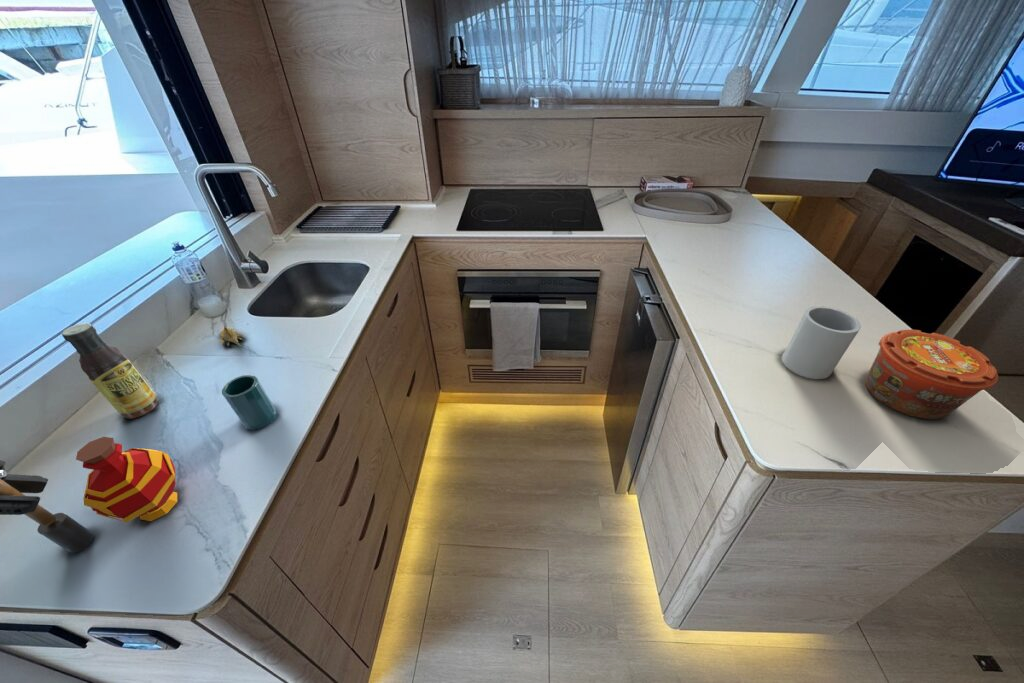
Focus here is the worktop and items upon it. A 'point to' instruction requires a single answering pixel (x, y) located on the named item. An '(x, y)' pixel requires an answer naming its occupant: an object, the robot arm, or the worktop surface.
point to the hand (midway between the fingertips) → (40, 494)
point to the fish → (229, 336)
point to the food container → (927, 374)
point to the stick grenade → (55, 525)
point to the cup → (820, 342)
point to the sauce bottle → (111, 372)
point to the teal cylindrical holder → (249, 402)
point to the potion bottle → (127, 481)
